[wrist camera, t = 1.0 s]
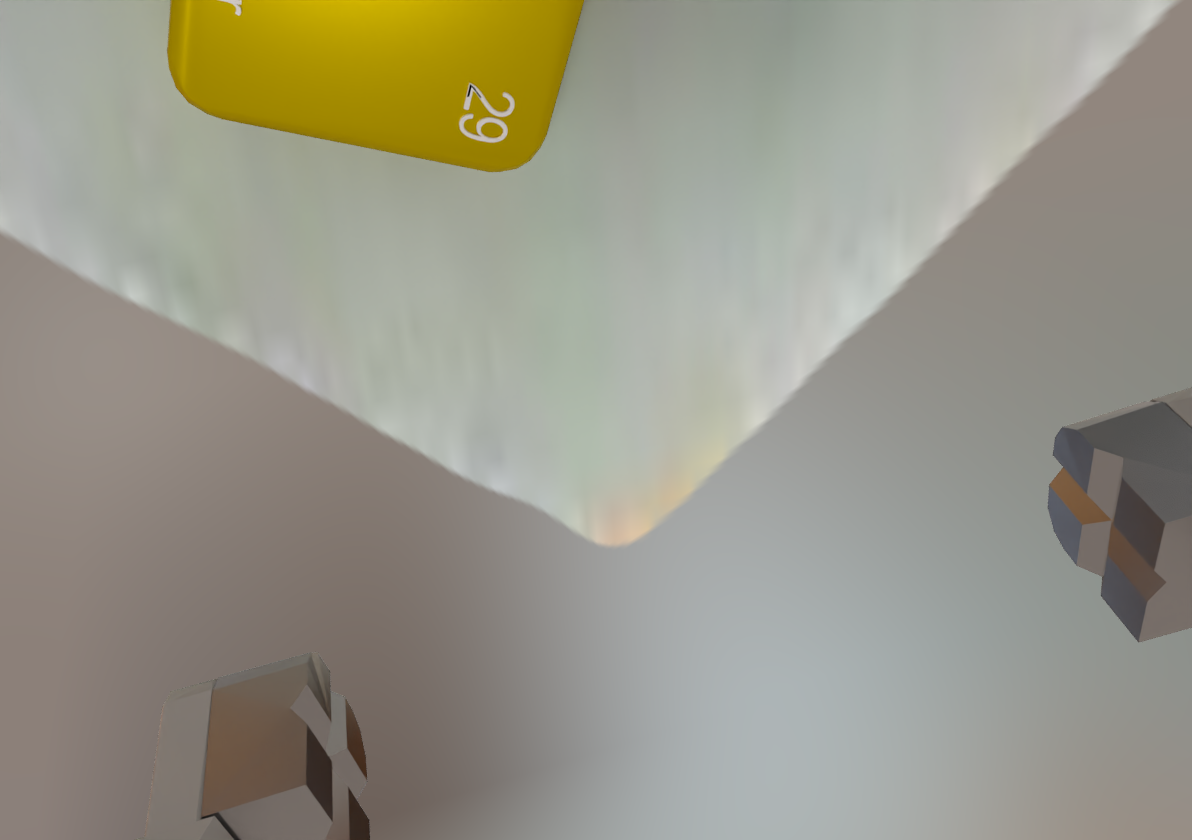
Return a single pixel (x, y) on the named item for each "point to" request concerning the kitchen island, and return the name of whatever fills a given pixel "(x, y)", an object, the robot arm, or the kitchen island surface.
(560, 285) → the kitchen island surface
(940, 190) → the kitchen island surface
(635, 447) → the kitchen island surface
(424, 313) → the kitchen island surface
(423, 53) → the element tile
